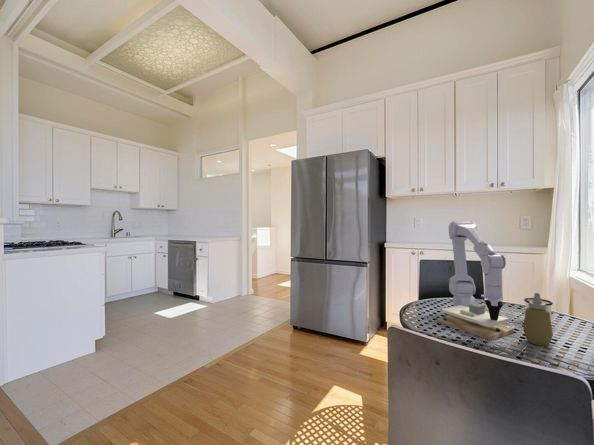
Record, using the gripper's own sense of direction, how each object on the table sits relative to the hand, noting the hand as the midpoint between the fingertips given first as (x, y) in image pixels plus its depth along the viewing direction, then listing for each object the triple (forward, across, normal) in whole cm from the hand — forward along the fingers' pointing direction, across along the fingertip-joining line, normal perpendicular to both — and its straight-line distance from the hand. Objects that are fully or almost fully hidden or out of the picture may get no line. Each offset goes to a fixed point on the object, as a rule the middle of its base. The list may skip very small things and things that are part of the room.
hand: (494, 319), depth 108 cm
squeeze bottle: (+6, +2, +13) cm, 14 cm away
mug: (+6, -24, +16) cm, 30 cm away
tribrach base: (+6, -4, -7) cm, 10 cm away
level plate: (0, -4, -7) cm, 8 cm away
